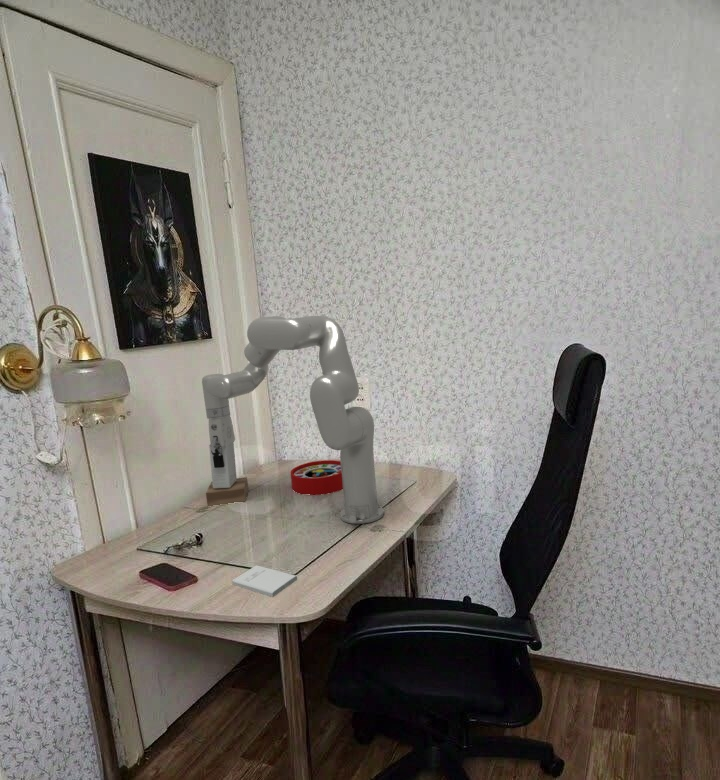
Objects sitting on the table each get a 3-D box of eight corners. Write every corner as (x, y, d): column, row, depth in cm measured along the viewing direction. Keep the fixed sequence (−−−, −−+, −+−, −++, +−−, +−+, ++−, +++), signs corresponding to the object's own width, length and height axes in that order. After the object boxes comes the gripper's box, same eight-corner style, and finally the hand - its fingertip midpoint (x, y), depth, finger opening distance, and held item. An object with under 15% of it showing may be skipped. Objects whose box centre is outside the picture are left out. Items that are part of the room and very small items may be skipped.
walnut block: (245, 503, 175) (243, 488, 174) (207, 508, 173) (205, 493, 172) (248, 491, 186) (247, 477, 186) (213, 495, 185) (211, 481, 184)
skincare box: (220, 481, 183) (216, 438, 181) (238, 480, 182) (233, 437, 181) (212, 489, 174) (207, 444, 173) (230, 488, 174) (226, 443, 172)
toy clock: (299, 461, 196) (353, 459, 192) (300, 476, 196) (354, 475, 193) (282, 479, 176) (342, 477, 173) (284, 496, 177) (344, 495, 174)
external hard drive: (273, 599, 116) (232, 586, 122) (297, 581, 122) (257, 570, 129) (272, 592, 115) (231, 579, 122) (296, 575, 122) (257, 563, 129)
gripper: (219, 417, 166) (226, 470, 169) (238, 406, 183) (244, 454, 186) (196, 418, 167) (203, 471, 170) (217, 407, 184) (223, 455, 187)
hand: (225, 462), depth 178 cm, fingers open, 9 cm apart
